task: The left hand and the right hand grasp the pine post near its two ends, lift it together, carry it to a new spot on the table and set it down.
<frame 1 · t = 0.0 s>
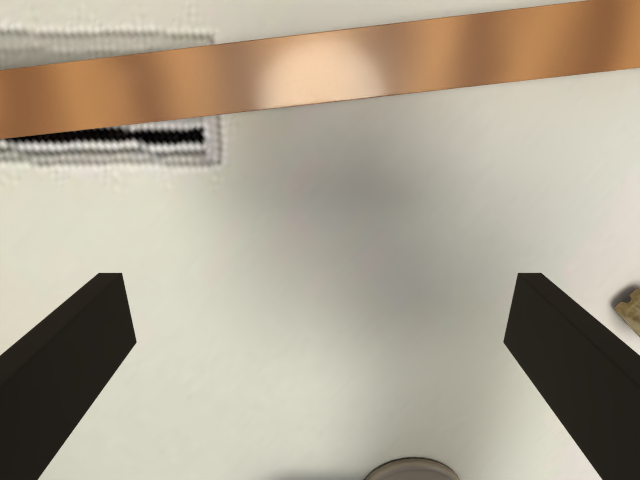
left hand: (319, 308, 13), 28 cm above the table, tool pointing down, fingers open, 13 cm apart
post: (262, 78, 36), on the table
sculpture: (636, 307, 45), on the table
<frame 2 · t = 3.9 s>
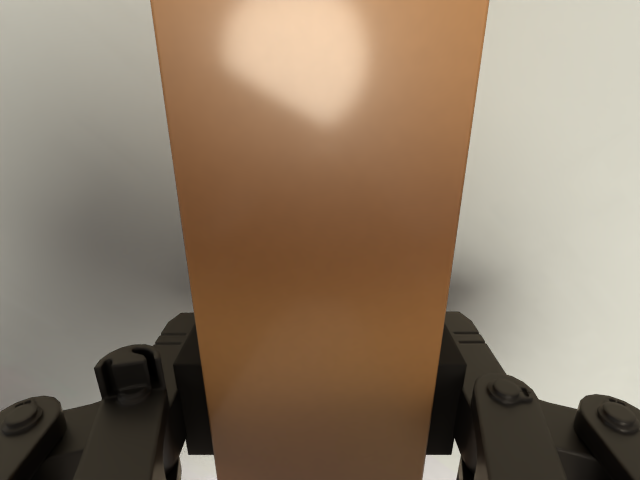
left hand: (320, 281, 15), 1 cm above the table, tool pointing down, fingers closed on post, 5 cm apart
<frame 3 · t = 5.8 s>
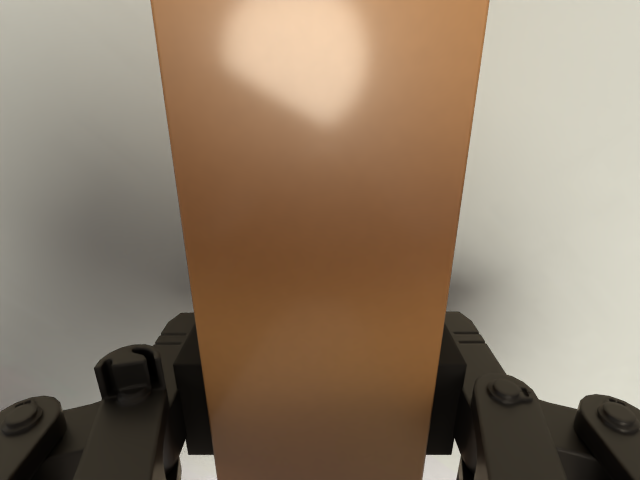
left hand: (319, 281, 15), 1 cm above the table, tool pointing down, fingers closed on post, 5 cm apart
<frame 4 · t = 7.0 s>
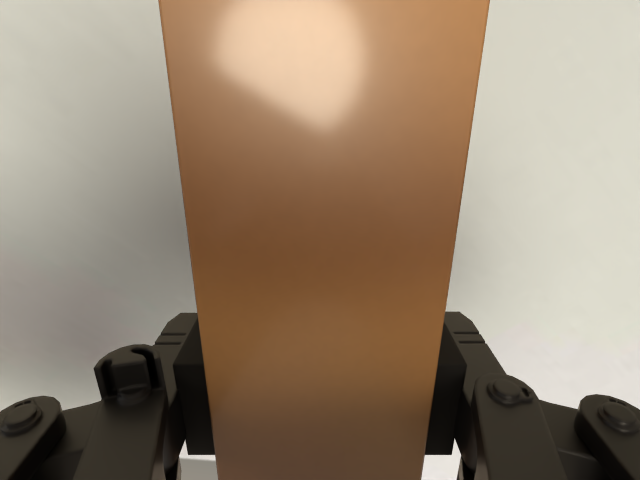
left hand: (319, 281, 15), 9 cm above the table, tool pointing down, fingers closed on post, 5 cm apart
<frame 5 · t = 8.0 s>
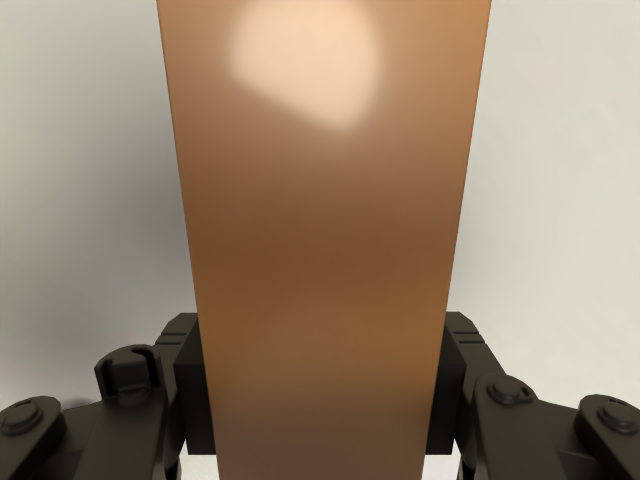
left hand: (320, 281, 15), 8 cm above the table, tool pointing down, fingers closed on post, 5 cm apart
when the left hand's fingers open (2 cm above the table, at t = 10.1 s): post drops 2 cm, on the table.
when the right hand's fingers open (5 cm above the table, at t = 10.3 s): post stays where it is, on the table.
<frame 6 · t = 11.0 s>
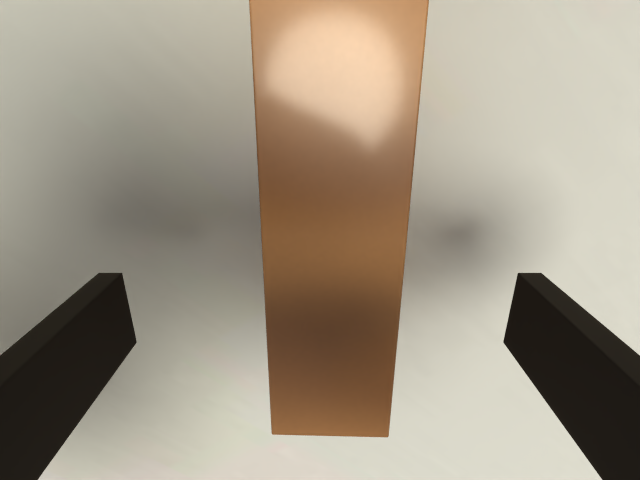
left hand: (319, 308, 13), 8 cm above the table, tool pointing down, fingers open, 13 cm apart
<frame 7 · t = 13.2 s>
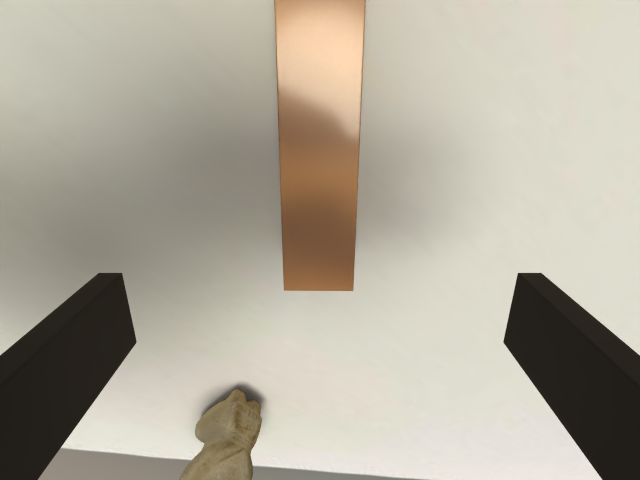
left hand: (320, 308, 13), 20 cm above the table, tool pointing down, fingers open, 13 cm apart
sculpture: (233, 407, 41), on the table
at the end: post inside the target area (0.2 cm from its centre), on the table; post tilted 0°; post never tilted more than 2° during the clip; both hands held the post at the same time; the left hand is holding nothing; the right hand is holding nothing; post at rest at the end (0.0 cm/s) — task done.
